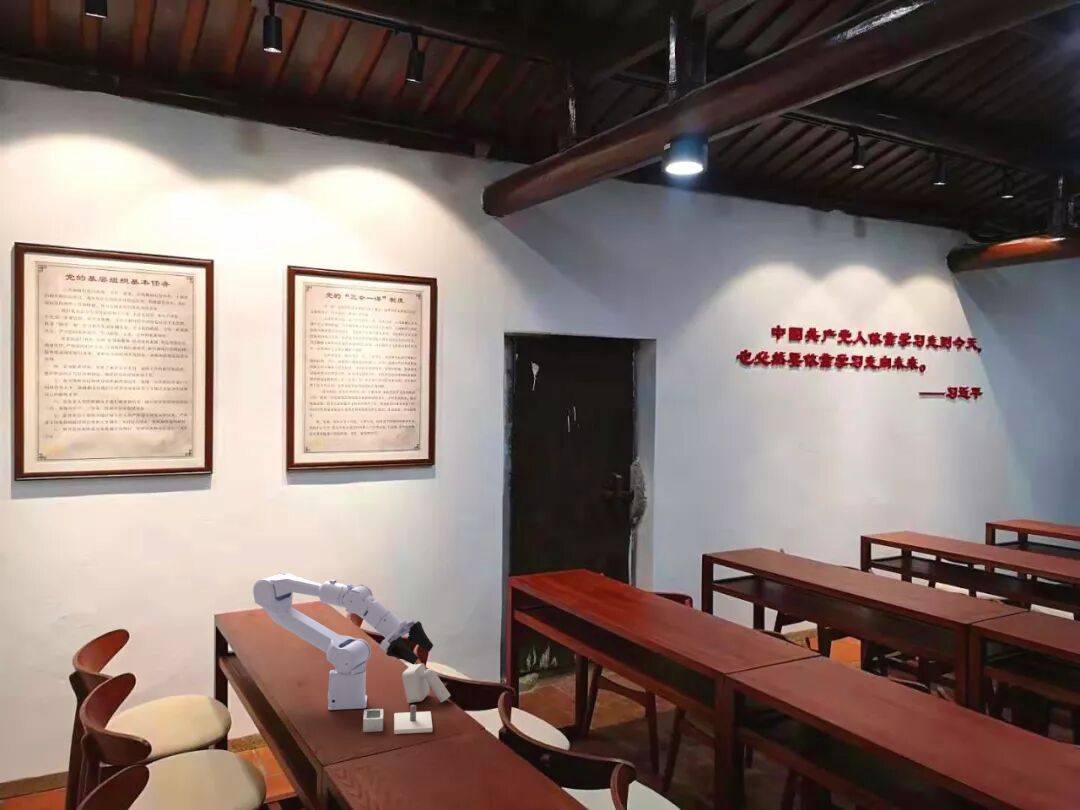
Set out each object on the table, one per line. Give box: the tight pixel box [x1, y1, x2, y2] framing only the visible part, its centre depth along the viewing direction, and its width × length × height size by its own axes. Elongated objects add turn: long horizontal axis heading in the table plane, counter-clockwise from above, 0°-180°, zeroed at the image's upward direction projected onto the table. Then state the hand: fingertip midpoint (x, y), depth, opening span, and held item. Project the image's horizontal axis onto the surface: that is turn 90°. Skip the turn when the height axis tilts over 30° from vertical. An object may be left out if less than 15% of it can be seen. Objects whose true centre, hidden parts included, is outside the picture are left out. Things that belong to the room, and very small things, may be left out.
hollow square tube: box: [362, 708, 384, 733], centre depth 196 cm, size 6×5×3 cm
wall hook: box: [401, 663, 451, 704], centre depth 213 cm, size 8×10×10 cm
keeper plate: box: [393, 704, 433, 735], centre depth 198 cm, size 9×10×4 cm
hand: (423, 654), depth 204 cm, fingers open, 7 cm apart
